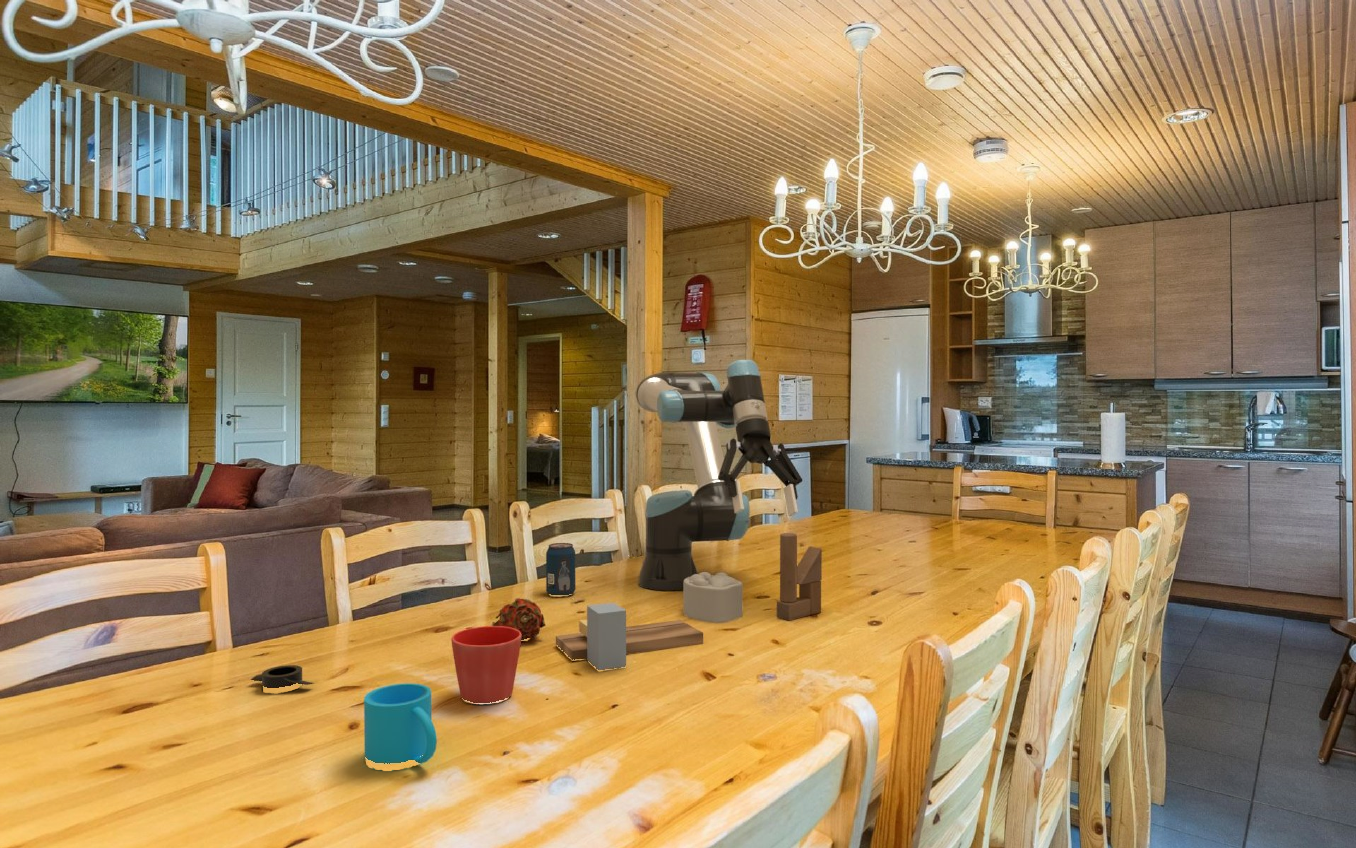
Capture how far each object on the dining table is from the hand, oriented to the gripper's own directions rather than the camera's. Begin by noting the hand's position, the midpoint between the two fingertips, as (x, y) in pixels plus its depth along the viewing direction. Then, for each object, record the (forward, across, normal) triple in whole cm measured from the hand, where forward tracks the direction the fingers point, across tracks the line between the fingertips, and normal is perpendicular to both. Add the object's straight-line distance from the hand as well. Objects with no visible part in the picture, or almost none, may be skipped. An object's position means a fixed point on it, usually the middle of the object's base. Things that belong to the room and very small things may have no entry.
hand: (766, 512), depth 169 cm
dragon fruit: (+22, -50, +19) cm, 57 cm away
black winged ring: (+30, -90, +12) cm, 96 cm away
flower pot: (+36, -61, -6) cm, 71 cm away
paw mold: (+18, -8, +17) cm, 26 cm away
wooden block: (+20, +9, +8) cm, 24 cm away
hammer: (+28, -40, +3) cm, 49 cm away
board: (+26, -32, +6) cm, 41 cm away
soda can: (+6, -32, +46) cm, 56 cm away
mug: (+45, -75, -21) cm, 90 cm away
